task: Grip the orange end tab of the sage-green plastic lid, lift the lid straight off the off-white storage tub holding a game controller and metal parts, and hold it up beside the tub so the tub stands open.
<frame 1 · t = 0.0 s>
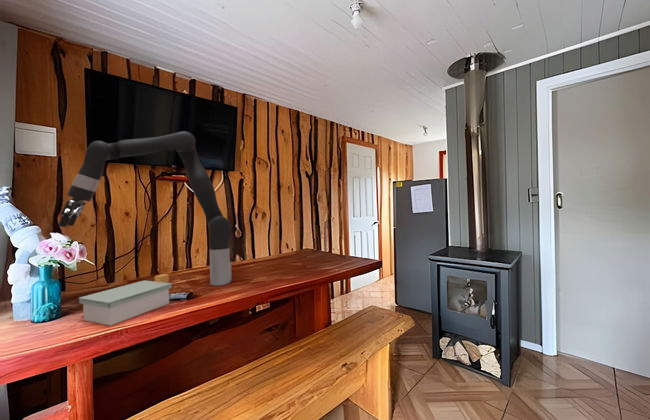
hand: (65, 225, 108), 31 cm above the table, tool tilted 20°, fingers open, 8 cm apart
game controller: (117, 316, 97), resting in tub
lid: (129, 292, 101), point 7 cm above the table, touching tub
tub: (129, 311, 101), on the table
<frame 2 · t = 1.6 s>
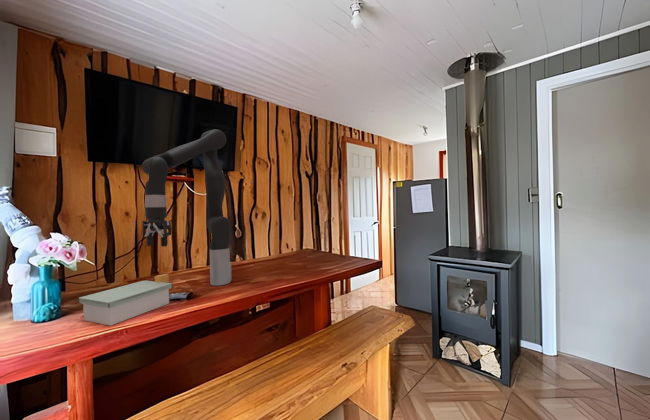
hand: (157, 246, 112), 22 cm above the table, tool pointing down, fingers open, 8 cm apart
nothing on the table moved.
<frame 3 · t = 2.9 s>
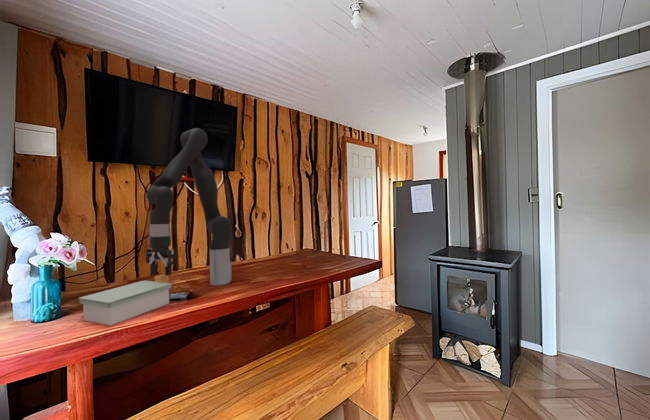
hand: (160, 274, 113), 10 cm above the table, tool pointing down, fingers open, 8 cm apart
nothing on the table moved.
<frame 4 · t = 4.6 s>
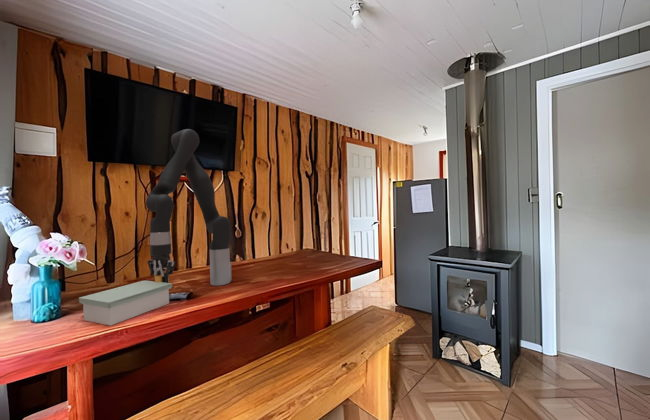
hand: (161, 284, 113), 6 cm above the table, tool pointing down, fingers closed on lid, 3 cm apart
lid: (129, 292, 100), point 7 cm above the table, touching gripper, tub
everything else where it was.
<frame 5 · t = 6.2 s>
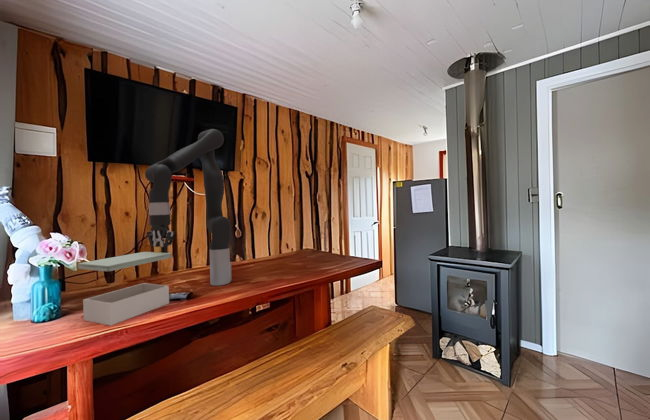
hand: (161, 255, 113), 18 cm above the table, tool pointing down, fingers closed on lid, 3 cm apart
lid: (128, 260, 100), point 19 cm above the table, touching gripper
everything else where it was.
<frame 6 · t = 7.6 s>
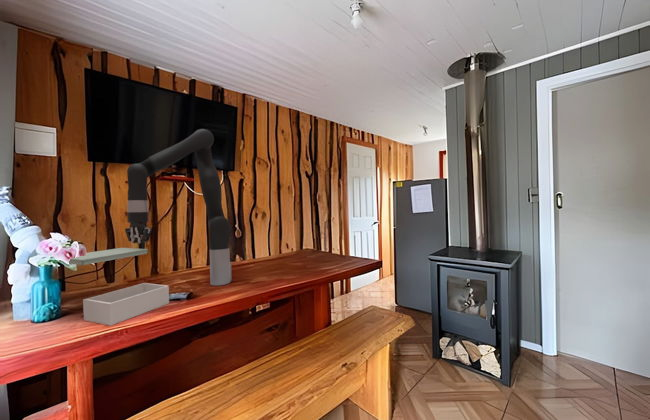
hand: (138, 251, 117), 19 cm above the table, tool pointing down, fingers closed on lid, 3 cm apart
lid: (104, 255, 105), point 20 cm above the table, touching gripper
everything else where it was.
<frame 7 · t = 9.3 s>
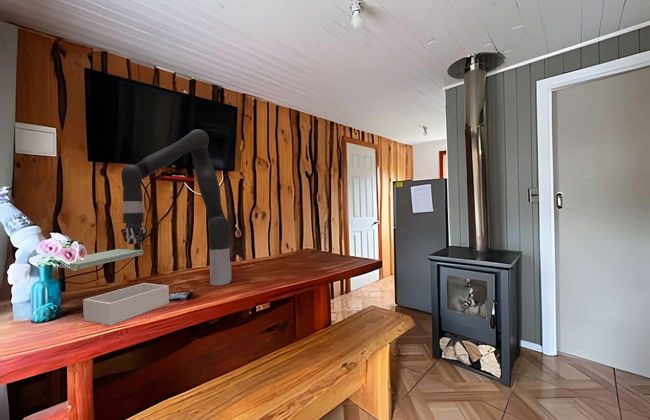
hand: (134, 251, 118), 19 cm above the table, tool pointing down, fingers closed on lid, 3 cm apart
lid: (100, 257, 106), point 19 cm above the table, touching gripper
everything else where it was.
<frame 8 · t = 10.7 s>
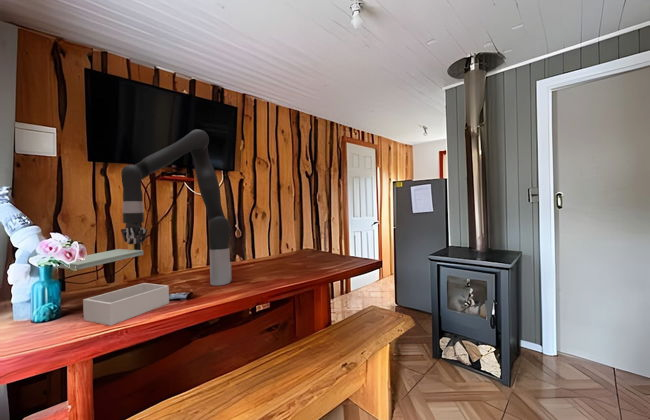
hand: (134, 251, 118), 19 cm above the table, tool pointing down, fingers closed on lid, 3 cm apart
lid: (101, 257, 106), point 19 cm above the table, touching gripper
everything else where it was.
at the end: lid inside the target area (0.3 cm from its centre), point 18.9 cm above the table; lid touching gripper; the gripper is holding lid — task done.
